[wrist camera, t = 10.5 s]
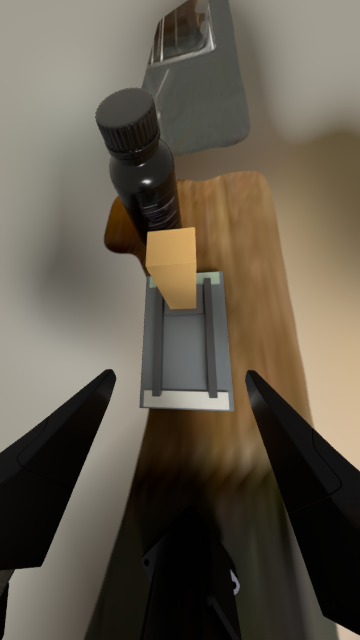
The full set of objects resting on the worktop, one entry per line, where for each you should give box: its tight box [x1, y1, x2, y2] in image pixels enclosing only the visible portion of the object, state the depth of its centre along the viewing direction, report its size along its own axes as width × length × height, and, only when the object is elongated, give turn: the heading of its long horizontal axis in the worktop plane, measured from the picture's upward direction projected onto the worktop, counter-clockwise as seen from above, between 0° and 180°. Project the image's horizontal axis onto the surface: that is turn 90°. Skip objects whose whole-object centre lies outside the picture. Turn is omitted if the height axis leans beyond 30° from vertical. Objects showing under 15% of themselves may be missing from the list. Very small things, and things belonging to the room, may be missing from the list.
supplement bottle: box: [95, 88, 182, 246], centre depth 17 cm, size 7×7×12 cm
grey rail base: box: [140, 271, 234, 411], centre depth 17 cm, size 16×10×3 cm, turn 0°
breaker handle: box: [146, 227, 203, 316], centre depth 13 cm, size 4×4×9 cm
